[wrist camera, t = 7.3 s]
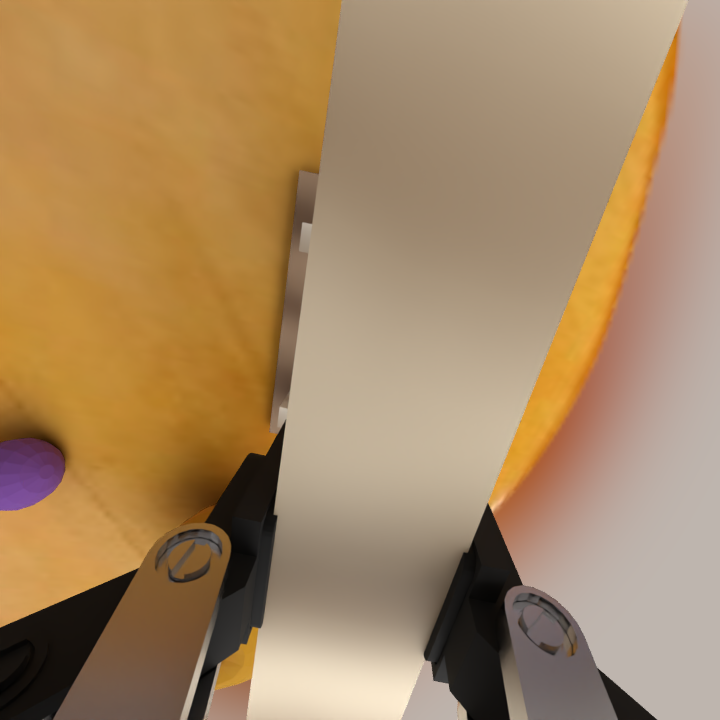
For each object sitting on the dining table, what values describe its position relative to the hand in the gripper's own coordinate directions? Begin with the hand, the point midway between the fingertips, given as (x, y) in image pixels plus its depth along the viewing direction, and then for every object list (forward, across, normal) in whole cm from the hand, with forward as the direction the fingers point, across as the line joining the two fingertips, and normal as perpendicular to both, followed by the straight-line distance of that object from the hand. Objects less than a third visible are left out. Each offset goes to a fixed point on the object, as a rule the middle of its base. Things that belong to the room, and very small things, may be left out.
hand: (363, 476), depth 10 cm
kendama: (+18, +34, +20) cm, 44 cm away
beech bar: (+2, 0, 0) cm, 2 cm away
